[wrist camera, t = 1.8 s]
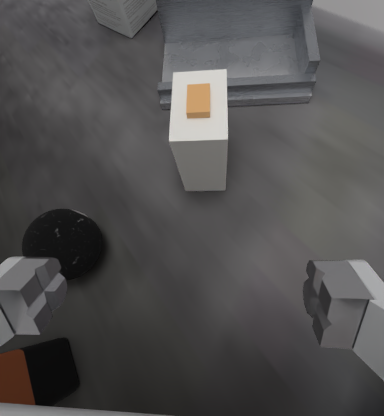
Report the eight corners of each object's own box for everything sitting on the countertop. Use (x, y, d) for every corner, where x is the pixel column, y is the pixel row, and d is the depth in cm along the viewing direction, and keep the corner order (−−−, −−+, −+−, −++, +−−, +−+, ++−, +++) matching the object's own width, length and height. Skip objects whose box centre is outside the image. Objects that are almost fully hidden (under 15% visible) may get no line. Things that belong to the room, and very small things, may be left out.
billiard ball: (121, 231, 26) (93, 213, 20) (94, 291, 24) (55, 289, 18) (70, 212, 27) (30, 190, 21) (41, 268, 25) (-11, 260, 20)
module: (185, 191, 26) (167, 136, 17) (187, 139, 28) (171, 65, 19) (225, 190, 26) (228, 134, 17) (224, 138, 28) (226, 62, 19)
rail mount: (162, 109, 30) (148, 66, 24) (167, 43, 33) (156, -9, 27) (308, 102, 28) (331, 53, 22) (299, 33, 31) (316, -25, 26)
